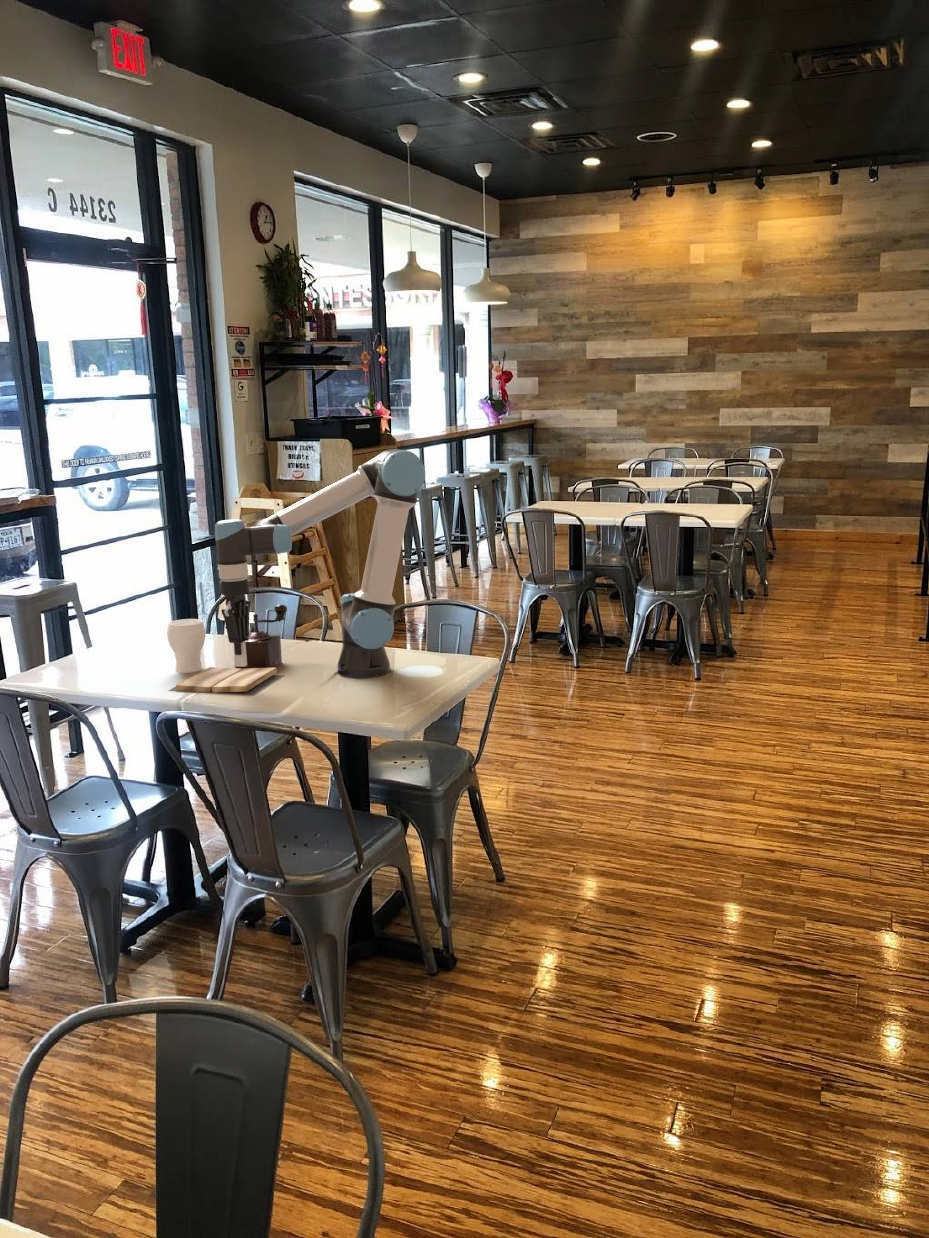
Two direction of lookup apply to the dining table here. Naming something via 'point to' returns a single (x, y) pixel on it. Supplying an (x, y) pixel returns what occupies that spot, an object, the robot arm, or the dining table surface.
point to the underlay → (249, 692)
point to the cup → (187, 643)
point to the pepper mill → (264, 644)
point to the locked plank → (206, 679)
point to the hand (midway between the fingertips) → (241, 665)
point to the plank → (244, 680)
